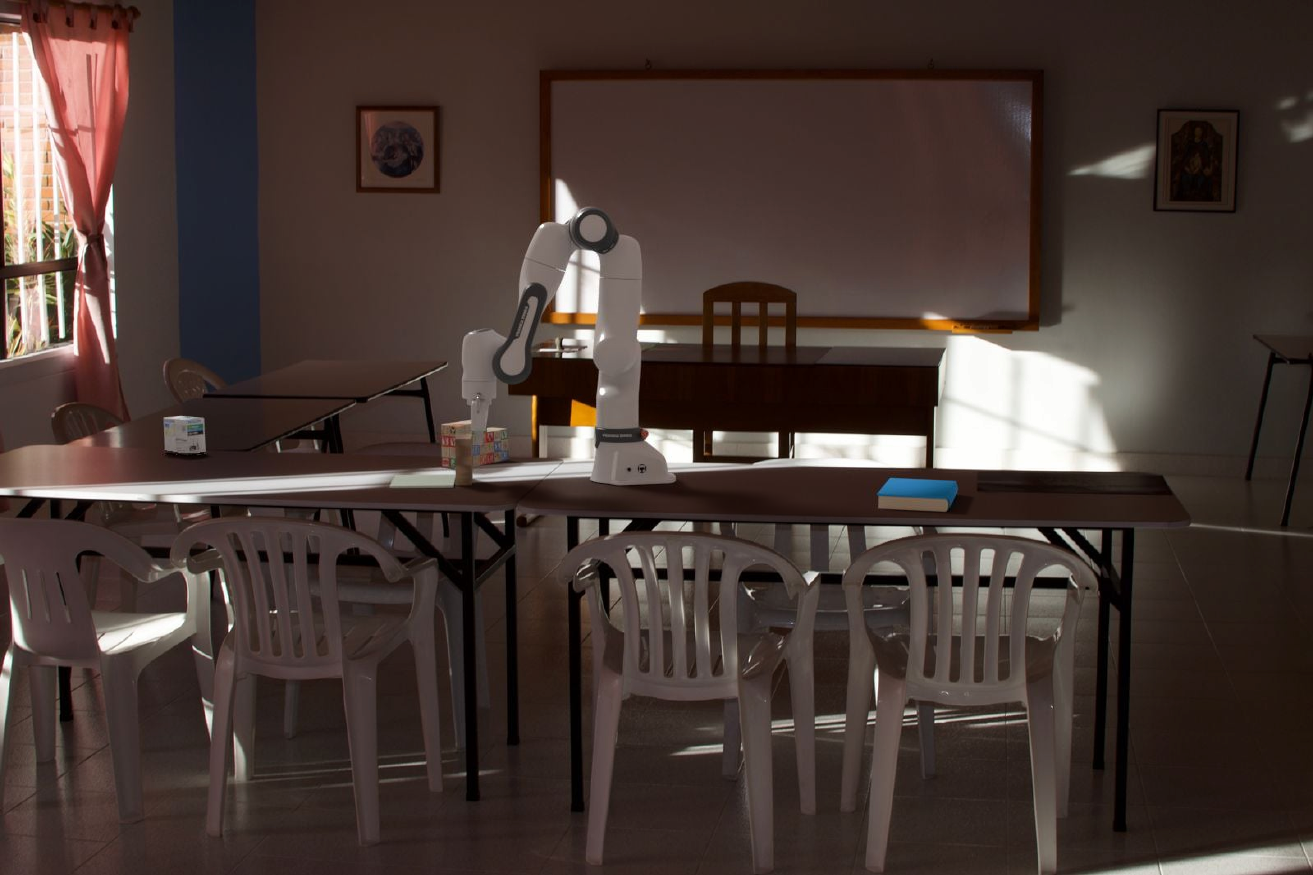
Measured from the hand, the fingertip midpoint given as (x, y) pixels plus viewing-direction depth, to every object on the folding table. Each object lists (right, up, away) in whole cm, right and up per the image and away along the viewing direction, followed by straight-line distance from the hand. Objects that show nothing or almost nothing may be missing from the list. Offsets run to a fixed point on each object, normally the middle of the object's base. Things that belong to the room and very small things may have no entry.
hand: (479, 444), depth 381 cm
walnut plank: (-4, -10, +1) cm, 11 cm away
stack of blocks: (-5, -6, +33) cm, 34 cm away
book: (+110, -14, -26) cm, 113 cm away
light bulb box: (-93, -3, +51) cm, 106 cm away
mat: (-14, -10, 0) cm, 18 cm away
